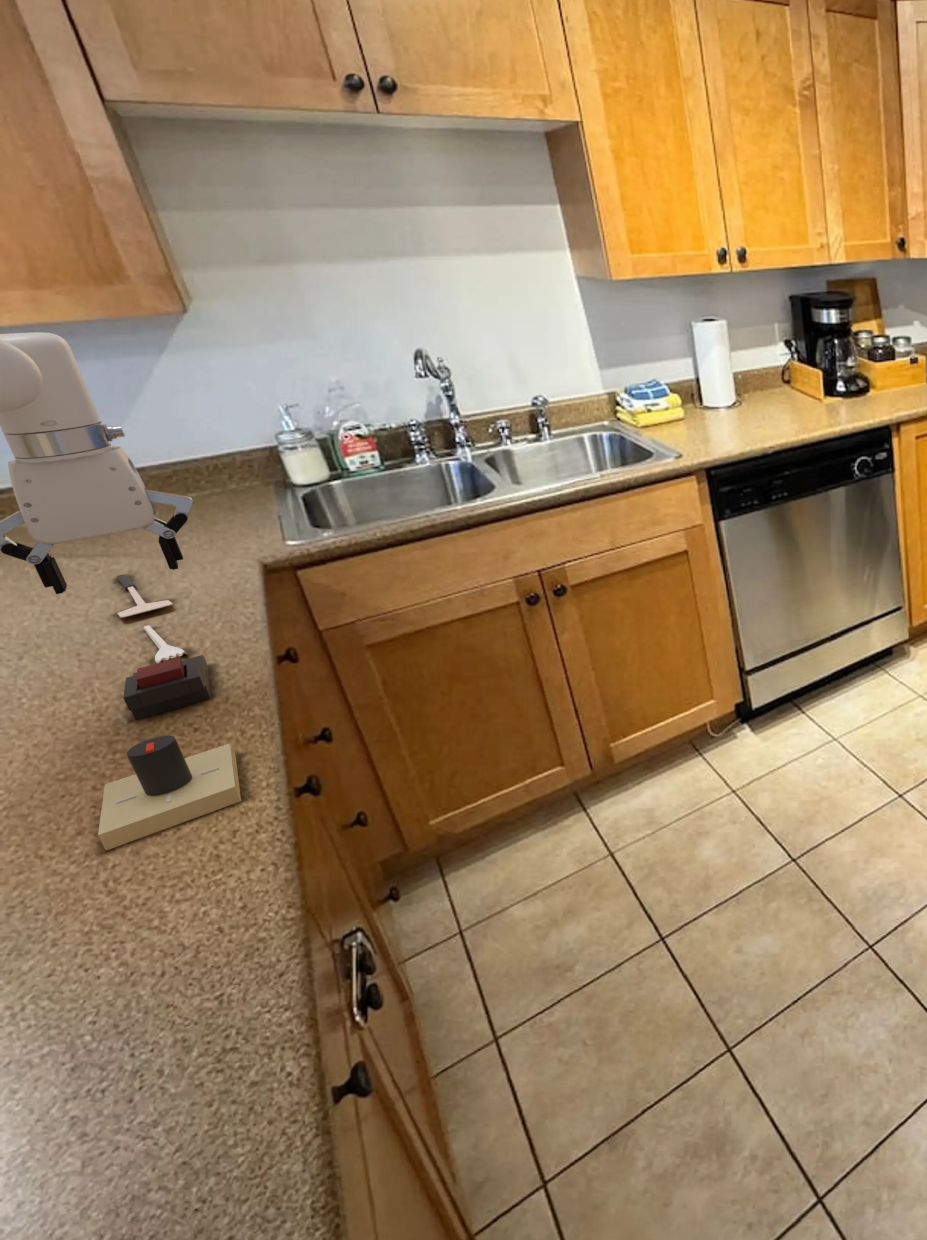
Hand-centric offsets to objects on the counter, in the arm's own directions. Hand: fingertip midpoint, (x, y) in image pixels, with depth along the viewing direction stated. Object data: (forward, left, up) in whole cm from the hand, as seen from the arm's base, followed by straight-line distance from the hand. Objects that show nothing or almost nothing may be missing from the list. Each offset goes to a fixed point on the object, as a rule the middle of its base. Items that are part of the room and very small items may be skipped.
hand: (120, 578), depth 95 cm
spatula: (-22, +50, -18) cm, 58 cm away
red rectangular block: (0, 0, -15) cm, 15 cm away
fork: (-9, +22, -18) cm, 30 cm away
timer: (+9, -26, -18) cm, 33 cm away
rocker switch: (-1, +4, -18) cm, 19 cm away
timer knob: (+9, -26, -16) cm, 31 cm away
